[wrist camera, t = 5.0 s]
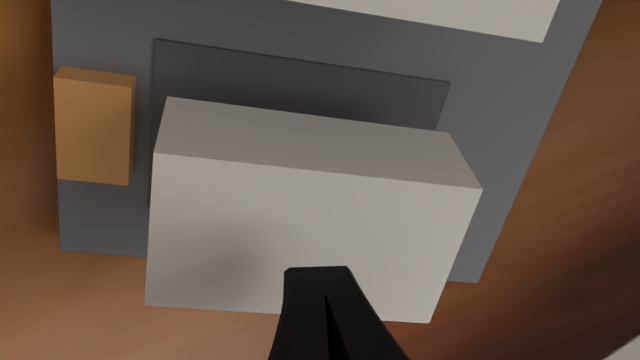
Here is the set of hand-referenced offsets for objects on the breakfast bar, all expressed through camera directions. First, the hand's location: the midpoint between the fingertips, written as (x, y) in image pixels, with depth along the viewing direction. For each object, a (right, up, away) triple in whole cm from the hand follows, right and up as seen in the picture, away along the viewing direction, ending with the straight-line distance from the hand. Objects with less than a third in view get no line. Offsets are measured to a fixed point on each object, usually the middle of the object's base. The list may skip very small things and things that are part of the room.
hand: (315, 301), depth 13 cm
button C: (0, +2, +4) cm, 5 cm away
